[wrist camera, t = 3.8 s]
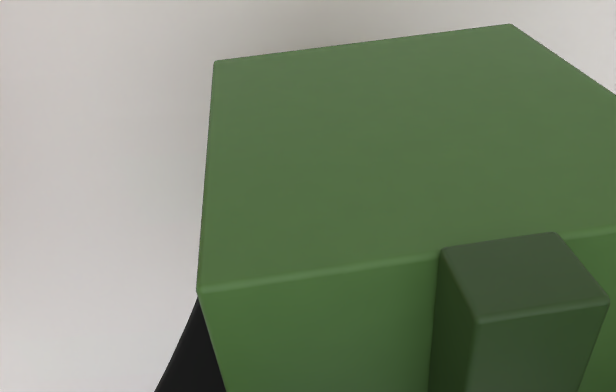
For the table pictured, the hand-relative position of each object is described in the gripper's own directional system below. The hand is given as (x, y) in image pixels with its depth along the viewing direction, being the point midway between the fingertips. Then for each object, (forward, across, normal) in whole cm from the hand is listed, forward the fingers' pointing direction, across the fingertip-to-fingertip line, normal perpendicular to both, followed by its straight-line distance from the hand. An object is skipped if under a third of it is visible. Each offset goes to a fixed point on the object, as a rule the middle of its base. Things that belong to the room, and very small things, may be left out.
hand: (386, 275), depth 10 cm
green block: (+1, 0, 0) cm, 1 cm away
